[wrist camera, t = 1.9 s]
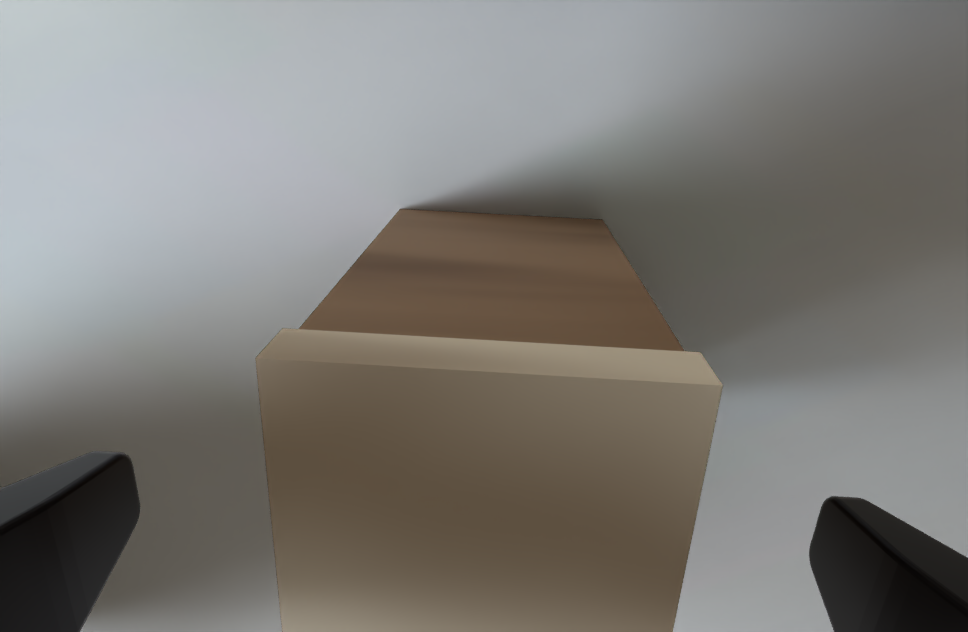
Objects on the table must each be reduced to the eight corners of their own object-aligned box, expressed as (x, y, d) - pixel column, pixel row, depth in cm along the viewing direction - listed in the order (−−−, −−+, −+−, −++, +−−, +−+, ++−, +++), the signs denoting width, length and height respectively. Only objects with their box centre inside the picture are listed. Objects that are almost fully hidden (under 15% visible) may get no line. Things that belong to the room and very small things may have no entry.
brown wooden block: (585, 402, 15) (655, 716, 8) (397, 391, 16) (287, 689, 8) (607, 215, 14) (723, 385, 6) (395, 204, 14) (254, 358, 6)
